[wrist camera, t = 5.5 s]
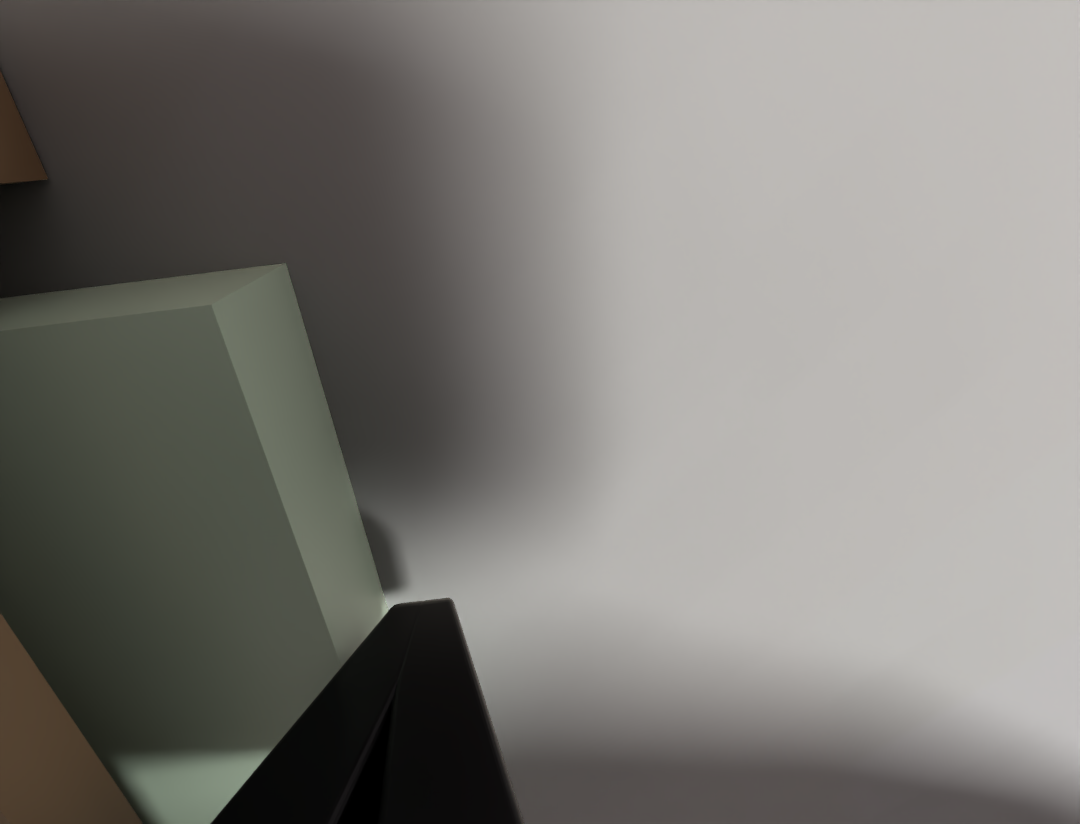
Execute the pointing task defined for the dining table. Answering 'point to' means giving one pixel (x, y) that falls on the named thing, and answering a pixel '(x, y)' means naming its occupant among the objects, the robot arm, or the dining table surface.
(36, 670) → the low shelf
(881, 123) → the dining table surface
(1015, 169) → the dining table surface
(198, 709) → the cover plate
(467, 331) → the dining table surface
